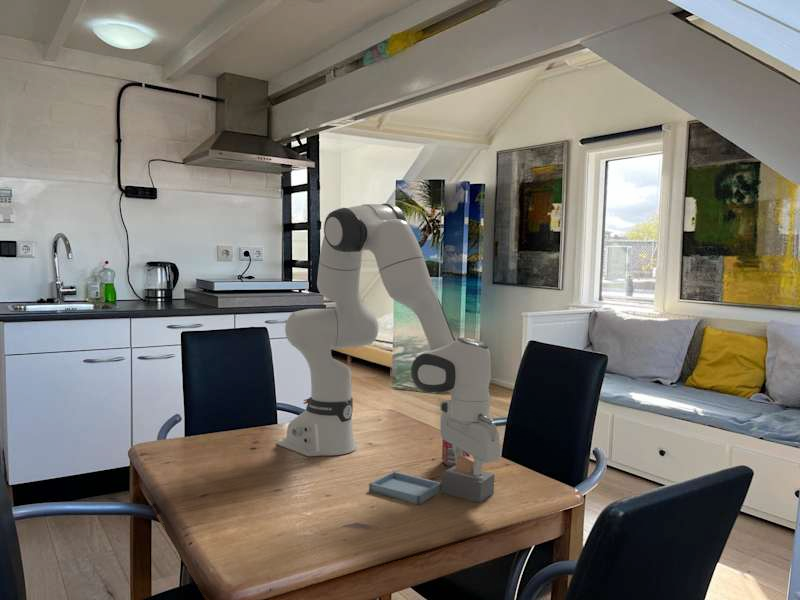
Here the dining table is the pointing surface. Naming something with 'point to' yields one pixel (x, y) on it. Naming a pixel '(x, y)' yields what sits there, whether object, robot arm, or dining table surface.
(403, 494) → the tray
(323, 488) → the dining table surface
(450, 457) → the soda can
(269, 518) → the dining table surface
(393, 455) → the dining table surface
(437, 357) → the robot arm
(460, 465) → the terracotta rectangular block
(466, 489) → the dispenser
